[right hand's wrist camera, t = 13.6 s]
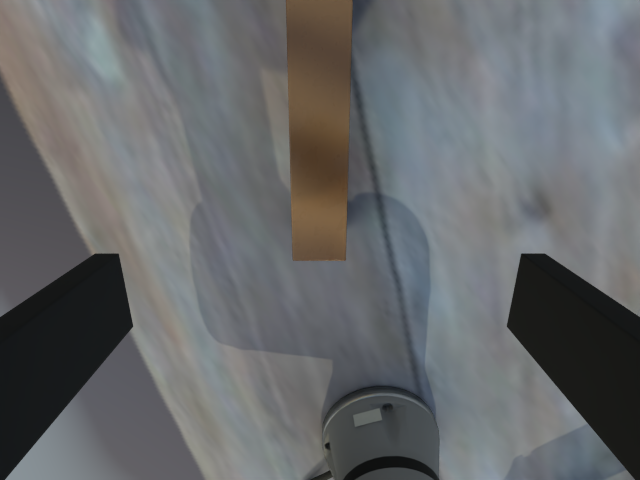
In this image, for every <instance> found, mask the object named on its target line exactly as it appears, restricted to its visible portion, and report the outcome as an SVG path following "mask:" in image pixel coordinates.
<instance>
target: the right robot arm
mask: <svg viewBox="0 0 640 480" xmlns="http://www.w3.org/2000/svg"><path fill="white" fill-rule="evenodd" d="M132 327H133V323H132V318H131V313H130V308H129V303H128V298H127V293H126V288H125V283H124V278H123V273H122V268H121V263H120V258H119V254H94V255H92V256H91V257H89V258H88V259H86V260H85V261H83V262H82V263H81V264H79V265H77V266H76V267H75V268H73V269H71V270H70V271H69V272H67V273H66V274H64V275H63V276H61V277H60V278H58V279H57V280H55V281H54V282H52V283H51V284H49V285H48V286H46V287H45V288H43V289H42V290H40V291H39V292H37V293H36V294H34V295H33V296H31V297H30V298H28V299H27V300H25V301H24V302H22V303H21V304H19V305H18V306H16V307H15V308H13V309H12V310H10V311H9V312H7V313H6V314H4V315H3V316H1V317H0V480H5V479H6V478H7V476H8V475H9V474H10V473H11V472H12V470H13V469H14V468H15V467H16V466H17V464H18V463H19V462H20V461H21V460H22V459H23V457H24V456H25V455H26V454H27V453H28V451H29V450H30V449H31V448H32V447H33V445H34V444H35V443H36V442H37V441H38V439H39V438H40V437H41V436H42V435H43V433H44V432H45V431H46V430H47V429H48V428H49V426H50V425H51V424H52V423H53V422H54V420H55V419H56V418H57V417H58V416H59V414H60V413H61V412H62V411H63V410H64V408H65V407H66V406H67V405H68V404H69V402H70V401H71V400H72V399H73V398H74V396H75V395H76V394H77V393H78V392H79V391H80V389H81V388H82V387H83V386H84V385H85V383H86V382H87V381H88V380H89V379H90V377H91V376H92V375H93V374H94V373H95V371H96V370H97V369H98V368H99V367H100V365H101V364H102V363H103V362H104V361H105V359H106V358H107V357H108V356H109V355H110V353H111V352H112V351H113V350H114V349H115V347H116V346H117V345H118V344H119V343H120V342H121V340H122V339H123V338H124V337H125V336H126V334H127V333H128V332H129V331H130V330H131V328H132ZM507 327H508V328H509V330H510V331H511V332H512V333H513V334H514V336H515V337H516V338H517V339H518V340H519V342H520V343H521V344H522V345H523V346H524V348H525V349H526V350H527V351H528V352H529V353H530V355H531V356H532V357H533V358H534V359H535V361H536V362H537V363H538V364H539V365H540V367H541V368H542V369H543V370H544V371H545V373H546V374H547V375H548V376H549V377H550V379H551V380H552V381H553V382H554V383H555V385H556V386H557V387H558V388H559V389H560V391H561V392H562V393H563V394H564V395H565V396H566V398H567V399H568V400H569V401H570V402H571V404H572V405H573V406H574V407H575V408H576V410H577V411H578V412H579V413H580V414H581V416H582V417H583V418H584V419H585V420H586V422H587V423H588V424H589V425H590V426H591V428H592V429H593V430H594V431H595V432H596V434H597V435H598V436H599V437H600V438H601V439H602V441H603V442H604V443H605V444H606V445H607V447H608V448H609V449H610V450H611V451H612V453H613V454H614V455H615V456H616V457H617V459H618V460H619V461H620V462H621V463H622V465H623V466H624V467H625V468H626V469H627V471H628V472H629V473H630V474H631V475H632V477H633V478H634V479H635V480H640V317H639V316H637V315H636V314H634V313H633V312H631V311H630V310H628V309H627V308H625V307H624V306H622V305H621V304H619V303H618V302H616V301H615V300H613V299H612V298H610V297H609V296H607V295H606V294H604V293H603V292H601V291H600V290H598V289H597V288H595V287H594V286H592V285H591V284H589V283H588V282H586V281H585V280H583V279H582V278H580V277H579V276H577V275H576V274H574V273H573V272H571V271H570V270H569V269H567V268H566V267H564V266H563V265H561V264H560V263H558V262H557V261H555V260H554V259H552V258H551V257H549V256H548V255H546V254H521V258H520V263H519V268H518V273H517V278H516V283H515V288H514V293H513V298H512V303H511V308H510V313H509V318H508V323H507ZM322 446H323V451H324V455H325V458H326V461H327V463H328V466H329V468H330V471H328V472H326V473H324V474H322V475H319V476H317V477H315V478H313V479H311V480H327V479H329V478H331V477H333V479H334V480H439V430H438V427H437V424H436V421H435V418H434V416H433V413H432V411H431V410H430V408H429V407H428V405H427V404H426V403H425V402H424V401H423V400H421V399H420V398H419V397H417V396H416V395H414V394H412V393H410V392H408V391H405V390H402V389H398V388H393V387H371V388H365V389H361V390H358V391H355V392H353V393H351V394H349V395H347V396H345V397H344V398H342V399H341V400H339V401H338V402H337V403H336V404H335V405H334V406H333V407H332V408H331V409H330V411H329V412H328V414H327V416H326V417H325V420H324V423H323V427H322Z"/></svg>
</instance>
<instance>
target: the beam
mask: <svg viewBox="0 0 640 480" xmlns="http://www.w3.org/2000/svg"><path fill="white" fill-rule="evenodd" d="M352 10H353V0H286V18H287V57H288V96H289V135H290V174H291V213H292V252H293V261H345V260H346V233H347V195H348V158H349V121H350V84H351V47H352Z"/></svg>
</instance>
